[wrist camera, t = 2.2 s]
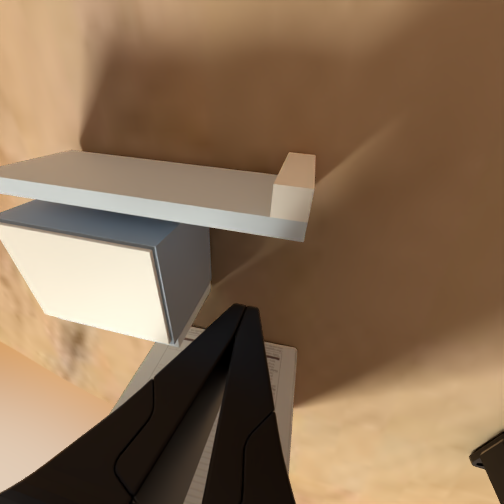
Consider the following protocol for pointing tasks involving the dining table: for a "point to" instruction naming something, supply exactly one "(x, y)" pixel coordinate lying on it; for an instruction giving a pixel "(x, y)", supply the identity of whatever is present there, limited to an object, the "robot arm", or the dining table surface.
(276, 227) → the flap
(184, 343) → the supplement box
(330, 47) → the dining table surface
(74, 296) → the carton
